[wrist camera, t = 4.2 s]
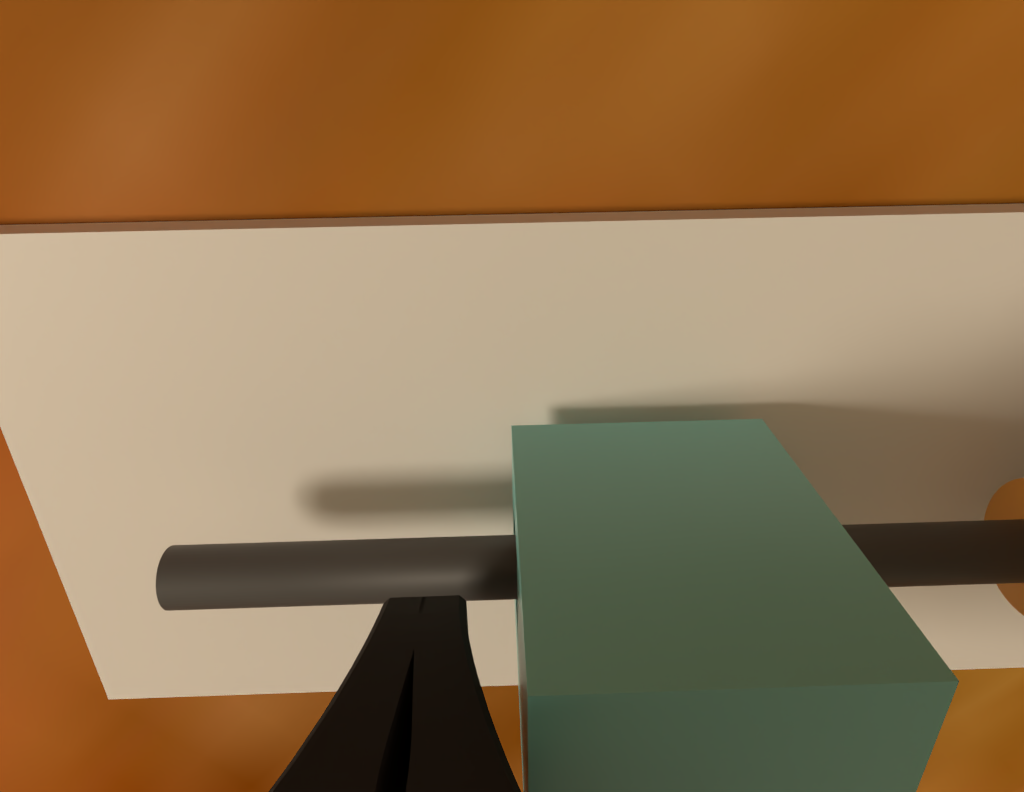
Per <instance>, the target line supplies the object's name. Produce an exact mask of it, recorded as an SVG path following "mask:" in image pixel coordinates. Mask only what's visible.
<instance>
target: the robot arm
mask: <svg viewBox="0 0 1024 792" xmlns="http://www.w3.org/2000/svg"><path fill="white" fill-rule="evenodd" d="M269 792H521V791H520V789H519V786H518V784H517V782H516V780H515V777H514V775H513V773H512V770H511V768H510V765H509V763H508V761H507V758H506V756H505V753H504V751H503V748H502V745H501V743H500V740H499V738H498V735H497V733H496V730H495V727H494V724H493V722H492V719H491V716H490V713H489V710H488V707H487V704H486V701H485V697H484V694H483V691H482V688H481V685H480V681H479V678H478V675H477V671H476V667H475V663H474V659H473V655H472V650H471V646H470V641H469V635H468V619H467V604H466V600H465V599H464V598H462V597H461V596H460V595H451V596H423V597H395V598H389V599H388V600H387V601H386V602H384V603H383V606H382V608H381V610H380V613H379V615H378V617H377V619H376V621H375V623H374V625H373V627H372V629H371V631H370V633H369V635H368V637H367V639H366V641H365V643H364V645H363V647H362V649H361V650H360V652H359V654H358V656H357V658H356V660H355V661H354V663H353V665H352V667H351V669H350V670H349V672H348V674H347V675H346V677H345V679H344V680H343V682H342V684H341V685H340V687H339V689H338V690H337V692H336V694H335V695H334V697H333V699H332V700H331V702H330V704H329V705H328V707H327V708H326V710H325V712H324V713H323V715H322V716H321V718H320V719H319V721H318V722H317V724H316V725H315V727H314V728H313V730H312V731H311V733H310V734H309V736H308V737H307V739H306V740H305V742H304V743H303V745H302V746H301V748H300V749H299V750H298V752H297V753H296V755H295V756H294V758H293V759H292V761H291V762H290V764H289V765H288V766H287V768H286V769H285V770H284V772H283V773H282V775H281V776H280V777H279V779H278V780H277V781H276V783H275V784H274V785H273V787H272V788H271V789H270V791H269Z"/></svg>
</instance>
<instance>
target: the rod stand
mask: <svg viewBox="0 0 1024 792" xmlns="http://www.w3.org/2000/svg"><path fill="white" fill-rule="evenodd" d="M733 419H763V421H764V422H765V423H766V425H767V426H768V427H769V429H770V430H771V431H772V433H773V434H774V435H775V437H776V438H777V439H778V441H779V442H780V443H781V445H782V446H783V447H784V449H785V450H786V451H787V453H788V454H789V455H790V457H791V458H792V459H793V461H794V462H795V463H796V465H797V466H798V467H799V469H800V470H801V471H802V473H803V474H804V475H805V477H806V478H807V479H808V481H809V482H810V483H811V485H812V486H813V487H814V489H815V490H816V491H817V493H818V494H819V495H820V497H821V498H822V499H823V501H824V502H825V503H826V505H827V506H828V507H829V509H830V510H831V511H832V513H833V514H834V515H835V517H836V518H837V519H838V521H839V522H840V523H841V525H842V526H843V527H844V529H845V530H846V531H847V533H848V534H849V535H850V537H851V538H852V539H853V541H854V542H855V543H856V545H857V546H858V547H859V549H860V550H861V551H862V553H863V554H864V555H865V557H866V558H867V559H868V561H869V562H870V563H871V565H872V566H873V567H874V569H875V570H876V571H877V573H878V574H879V575H880V577H881V578H882V579H883V581H884V582H885V583H886V585H887V586H888V587H889V589H890V590H891V591H892V593H893V594H894V595H895V597H896V598H897V599H898V601H899V602H900V603H901V605H902V606H903V607H904V609H905V610H906V611H907V613H908V614H909V615H910V617H911V618H912V619H913V621H914V622H915V623H916V625H917V626H918V627H919V629H920V630H921V631H922V633H923V634H924V635H925V637H926V638H927V639H928V641H929V642H930V643H931V645H932V646H933V647H934V649H935V650H936V651H937V653H938V654H939V655H940V657H941V658H942V659H943V661H944V662H945V663H946V665H947V666H948V667H949V669H950V670H960V669H989V668H1017V667H1024V203H1014V204H967V205H919V206H872V207H825V208H777V209H730V210H682V211H635V212H587V213H540V214H492V215H445V216H397V217H350V218H302V219H255V220H207V221H160V222H112V223H65V224H17V225H0V427H1V430H2V432H3V435H4V437H5V440H6V442H7V445H8V447H9V450H10V452H11V455H12V457H13V460H14V462H15V465H16V467H17V470H18V472H19V475H20V477H21V480H22V482H23V485H24V487H25V490H26V493H27V495H28V498H29V500H30V503H31V505H32V508H33V510H34V513H35V515H36V518H37V520H38V523H39V525H40V528H41V530H42V533H43V535H44V538H45V540H46V543H47V545H48V548H49V550H50V553H51V555H52V558H53V560H54V563H55V565H56V568H57V571H58V573H59V576H60V578H61V581H62V583H63V586H64V588H65V591H66V593H67V596H68V598H69V601H70V603H71V606H72V608H73V611H74V613H75V616H76V618H77V621H78V623H79V626H80V628H81V631H82V633H83V636H84V638H85V641H86V643H87V646H88V649H89V651H90V654H91V656H92V659H93V661H94V664H95V666H96V669H97V671H98V674H99V676H100V679H101V681H102V684H103V686H104V689H105V691H106V694H107V696H108V699H132V698H160V697H189V696H217V695H246V694H275V693H303V692H332V691H337V690H338V689H339V687H340V685H341V684H342V682H343V680H344V679H345V677H346V675H347V674H348V672H349V670H350V669H351V667H352V665H353V663H354V661H355V660H356V658H357V656H358V654H359V652H360V650H361V649H362V647H363V645H364V643H365V641H366V639H367V637H368V635H369V633H370V631H371V629H372V627H373V625H374V623H375V621H376V619H377V617H378V615H379V613H380V610H381V608H382V606H383V603H384V602H386V601H387V600H388V599H389V598H395V597H423V596H451V595H460V596H461V597H462V598H464V599H465V600H466V604H467V619H468V635H469V641H470V646H471V650H472V655H473V659H474V663H475V667H476V671H477V675H478V678H479V681H480V685H481V686H503V685H518V664H517V643H516V621H515V600H514V599H517V554H516V535H513V490H512V432H511V426H513V425H550V424H586V423H623V422H659V421H696V420H733Z"/></svg>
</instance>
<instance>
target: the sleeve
mask: <svg viewBox="0 0 1024 792" xmlns="http://www.w3.org/2000/svg"><path fill="white" fill-rule="evenodd" d="M511 432H512V490H513V535H516V554H517V599H514V600H515V621H516V643H517V664H518V685H519V707H520V728H521V750H522V771H523V792H916V790H917V788H918V785H919V783H920V780H921V777H922V775H923V772H924V770H925V767H926V765H927V762H928V759H929V757H930V754H931V752H932V749H933V747H934V744H935V741H936V739H937V736H938V734H939V731H940V729H941V726H942V723H943V721H944V718H945V716H946V713H947V711H948V708H949V706H950V703H951V700H952V698H953V695H954V693H955V690H956V688H957V685H958V682H959V681H958V679H957V678H956V677H955V675H954V674H953V673H952V671H951V670H950V669H949V667H948V666H947V665H946V663H945V662H944V661H943V659H942V658H941V657H940V655H939V654H938V653H937V651H936V650H935V649H934V647H933V646H932V645H931V643H930V642H929V641H928V639H927V638H926V637H925V635H924V634H923V633H922V631H921V630H920V629H919V627H918V626H917V625H916V623H915V622H914V621H913V619H912V618H911V617H910V615H909V614H908V613H907V611H906V610H905V609H904V607H903V606H902V605H901V603H900V602H899V601H898V599H897V598H896V597H895V595H894V594H893V593H892V591H891V590H890V589H889V587H888V586H887V585H886V583H885V582H884V581H883V579H882V578H881V577H880V575H879V574H878V573H877V571H876V570H875V569H874V567H873V566H872V565H871V563H870V562H869V561H868V559H867V558H866V557H865V555H864V554H863V553H862V551H861V550H860V549H859V547H858V546H857V545H856V543H855V542H854V541H853V539H852V538H851V537H850V535H849V534H848V533H847V531H846V530H845V529H844V527H843V526H842V525H841V523H840V522H839V521H838V519H837V518H836V517H835V515H834V514H833V513H832V511H831V510H830V509H829V507H828V506H827V505H826V503H825V502H824V501H823V499H822V498H821V497H820V495H819V494H818V493H817V491H816V490H815V489H814V487H813V486H812V485H811V483H810V482H809V481H808V479H807V478H806V477H805V475H804V474H803V473H802V471H801V470H800V469H799V467H798V466H797V465H796V463H795V462H794V461H793V459H792V458H791V457H790V455H789V454H788V453H787V451H786V450H785V449H784V447H783V446H782V445H781V443H780V442H779V441H778V439H777V438H776V437H775V435H774V434H773V433H772V431H771V430H770V429H769V427H768V426H767V425H766V423H765V422H764V421H763V419H733V420H696V421H659V422H623V423H586V424H550V425H513V426H511Z"/></svg>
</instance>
